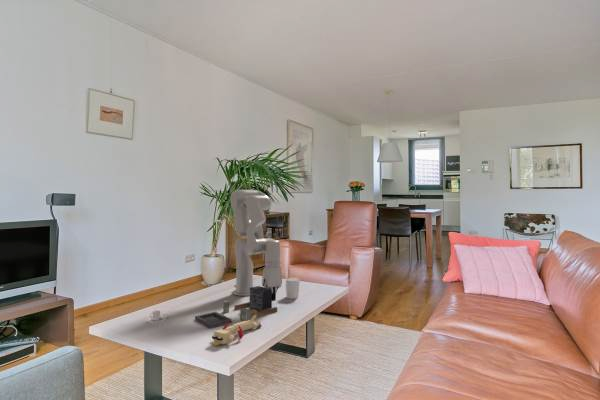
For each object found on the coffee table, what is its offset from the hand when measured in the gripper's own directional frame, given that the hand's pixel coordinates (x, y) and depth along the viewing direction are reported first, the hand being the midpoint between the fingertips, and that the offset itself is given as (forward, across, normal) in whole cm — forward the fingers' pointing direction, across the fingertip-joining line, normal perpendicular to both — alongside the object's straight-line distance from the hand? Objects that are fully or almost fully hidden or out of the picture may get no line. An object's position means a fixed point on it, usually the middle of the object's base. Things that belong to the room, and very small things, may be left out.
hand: (272, 300), depth 179 cm
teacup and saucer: (+4, +50, -16) cm, 53 cm away
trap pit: (+3, +33, 0) cm, 33 cm away
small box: (+3, +7, 0) cm, 8 cm away
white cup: (+3, -19, -6) cm, 20 cm away
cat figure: (+4, +35, +21) cm, 41 cm away
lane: (+3, +13, 0) cm, 14 cm away
